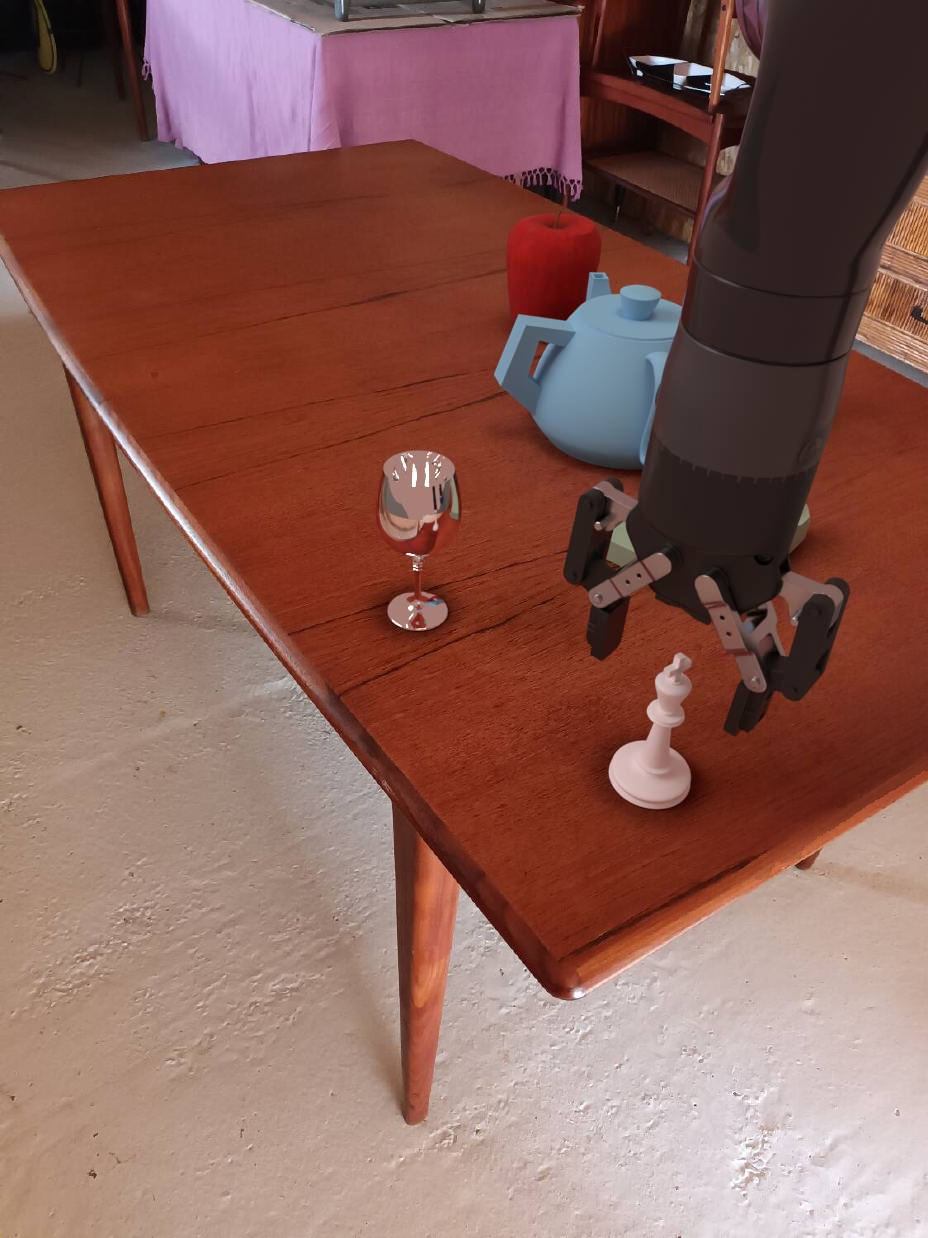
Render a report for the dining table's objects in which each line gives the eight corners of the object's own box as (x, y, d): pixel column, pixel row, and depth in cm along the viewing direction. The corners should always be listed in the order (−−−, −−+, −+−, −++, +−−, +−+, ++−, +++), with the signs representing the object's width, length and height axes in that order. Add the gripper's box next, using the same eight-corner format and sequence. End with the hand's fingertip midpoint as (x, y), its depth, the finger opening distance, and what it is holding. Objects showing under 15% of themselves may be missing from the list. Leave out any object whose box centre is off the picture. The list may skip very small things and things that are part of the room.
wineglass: (420, 577, 70) (421, 437, 63) (473, 613, 67) (482, 470, 60) (361, 609, 67) (356, 465, 59) (414, 648, 64) (416, 502, 56)
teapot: (747, 428, 91) (783, 288, 82) (652, 509, 79) (682, 356, 70) (582, 371, 100) (599, 239, 91) (475, 436, 88) (482, 292, 79)
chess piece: (707, 787, 56) (746, 665, 49) (647, 822, 53) (680, 700, 47) (650, 736, 59) (680, 615, 52) (591, 767, 56) (615, 646, 50)
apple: (561, 308, 113) (574, 190, 104) (607, 340, 106) (625, 217, 97) (485, 320, 109) (492, 199, 100) (527, 355, 102) (539, 227, 93)
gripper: (927, 455, 40) (815, 715, 50) (647, 352, 47) (600, 600, 57) (858, 525, 35) (751, 795, 46) (559, 400, 42) (526, 660, 53)
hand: (667, 687), depth 51 cm, fingers open, 8 cm apart
